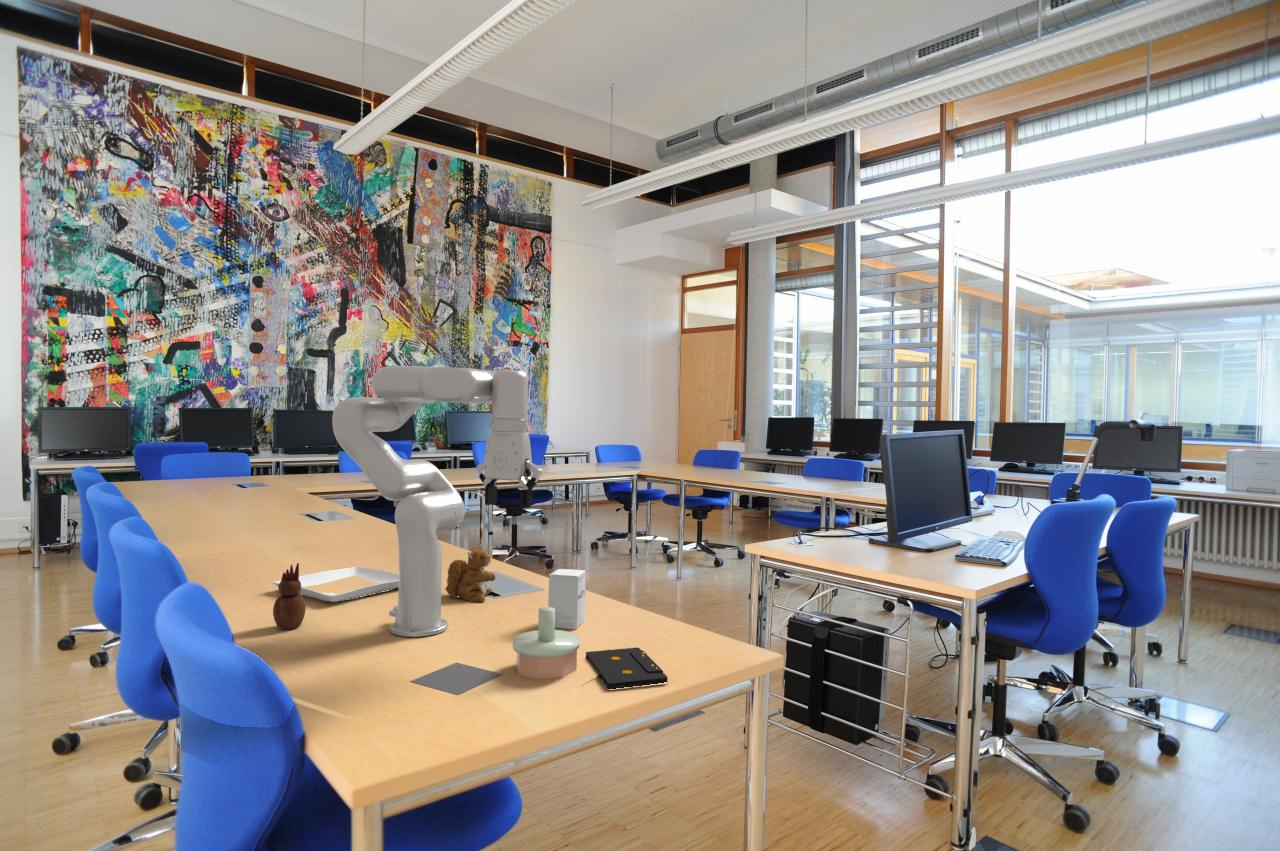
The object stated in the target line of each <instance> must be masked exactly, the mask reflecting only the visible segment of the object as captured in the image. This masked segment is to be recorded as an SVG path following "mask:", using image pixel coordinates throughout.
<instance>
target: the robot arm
mask: <svg viewBox="0 0 1280 851" xmlns="http://www.w3.org/2000/svg"><path fill="white" fill-rule="evenodd" d="M371 380H372V381H371V387H372V389H373V391H374V393H375V394H376V395H377V396H378V397H369V396H355V397H348V398H346V399H343V400H342V401H340V402H338V404H337V405H336V406H335V408H333V413H332V419H331V420H332V430H333V434H334V437H335V439H336V441H337V443H338V445H339V446H340V447H341V448H342V450H343V451H344V452H345V453H346V454H347V455H348V456H349V457H350V458H351V459H352V461H353V462H354V463H356V465H357V466H358V468H360V470H361V471H362V473H363V474H364V475H365V476H366V478H367V479H368V480H369V482H370V483H371V484H372V485H373V486H374V487H375V489H376V490H377V492H379V494H380V495H381V496H382V497H383V498H385V499H386V500H388V501H393V502H395V501H396V502H397V501H399V502H398V504H397V506H396V507H395V511H394V521H395V527H396V532H397V533H396V534H397V538H398V539H397V540H398V574H399V588H398V592H397V593H398V594H397V595H398V597H397V598H398V600H397V602H398V603H397V605H394V607H393V608H392V609H390V610H389V612H388V615H389V616H390V617H394V619H395V620H394V623H392V624H391V625H390V632H391V634H393V635H396V636H399V637H405V638H406V637H407V638H417V637H418V638H420V637H426V636H427V637H428V636H434V635H438V634H441V633H442V632H444V631H446V630H447V629H448V628H449V627H448V626H449V625H448V623H449V622H448V621H447V620H446V619H443V618H442V575H443V574H442V570H443V569H442V565H443V564H442V562H443V561H442V560H443V556H442V555H443V554H442V553H443V552H442V546H441V544H440V541H439V539H438V536H437V534H436V533H437V532H441V531H446V530H450V529H453V528H455V527H457V526H459V525H460V524H461V523H462V521H463V520H464V518H465V516H466V507H465V506H466V505H465V502H464V500H463V498H462V497H461V495H460V493H459V492H458V491H457V490H456V489H455V488H454V486H453V484H451V482H450V481H449V480H448V479H447V478H446V476H445V475H444V474H443V473H442V472H441V471H440V470H439V469H438V467H437V466H436V465H434V464H433V463H431V462H429V461H428V460H425V459H417V458H416V459H404V458H402V457H400V456H399V455H398V454H397V453H396V452H395V450H394V449H393V448H392V446H391V445H390V444H389V443H388V442H387V441H386V440H384V439H382V438H381V437H379V436H378V435H376V434H375V433H378V432H379V433H380V432H382V433H383V432H385V433H388V432H393V431H396V430H398V429H399V428H401V427H402V426H403V425H404V424H405V423H407V421H409V419H410V418H411V417H412V416H413V415H414V414H415V412H416V411H417V410H418V409H419V408H421V406H422V405H423V404H434V403H436V402H437V403H438V402H439V403H440V402H442V403H455V404H478V405H491V421H489V424H488V425H489V428H491V432H490V433H488V435H487V439H486V443H485V444H486V445H485V451H484V461H483V462H481V463H479V464H478V465H477V466H476V471H477V473H478V478H479V479H480V480H481V482H482V486H483V487H485V488H484V505H485V506H492V505H496V504H497V503H498V486H497V485H496V483H497V482H498V481H499V480H501V481H510V482H511V481H512V482H513V481H518V483H519V485H520V486H521V489H520V491H519V508H520V509H530V508H531V507H532V502H533V490H534V489H535V488H536V485H537V484H538V483H539V482H540V478H541V475H542V474H543V469H542V468H540V467H539V466H538V465H536V464H535V463H533V462H532V460H533V458H532V447H531V439H530V435H529V434H528V432H527V431H528V429H527V428H528V387H529V385H528V380H529V379H528V375H527V373H526V372H525V371H521V370H515V369H510V370H509V369H502V370H497V371H494V370H488V369H487V370H484V369H479V368H467V367H442V366H441V367H438V366H437V367H436V366H433V365H432V366H430V365H427V366H425V365H387V366H383V367H381V368H379V369H378V370H377V371H376V372H375V373H374V374H373V377H372V379H371Z"/></svg>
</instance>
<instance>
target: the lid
mask: <svg viewBox="0 0 1280 851" xmlns="http://www.w3.org/2000/svg"><path fill="white" fill-rule="evenodd" d="M537 628H538V630H530V631H526V632H523V633H519V634H518V635H515V636H514V637H513V639H512V650H513V651H514V652H516V653H517V652H518V653H520V654H523V655H527V656H534V657H553V656H561V655H565V654H569V653H572V652H574V651H576V650H577V651H578V650H579V648H580V646H581V644H580V641H581V640H580V637H579V636H578V635H577V634H576V633H573V632H571V631H566V630H560V629H559V630H558V629H556V628H555V608H553V607H548V606H543V607H540V608H538V624H537Z"/></svg>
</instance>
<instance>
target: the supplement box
mask: <svg viewBox="0 0 1280 851" xmlns="http://www.w3.org/2000/svg"><path fill="white" fill-rule="evenodd" d="M586 572H587V571H586V570H585V569H584V570H583V569H570V568H569V569H567V568H557V569H556V570H554V571H553V572H552V573H550V574H548V600H547V601H548V603H547V604H548V606H547V607H553V608H555V629H557V628H558V629H568V630H577V629H578V627H579V626H580V625H582V623H584V622H585V620H586V619H585V615H586V576H587V575H586V574H587V573H586Z"/></svg>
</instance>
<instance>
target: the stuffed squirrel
mask: <svg viewBox="0 0 1280 851" xmlns="http://www.w3.org/2000/svg"><path fill="white" fill-rule="evenodd" d="M467 556H468V557H467V558H468V559H467V560H462V559H454V560H453V561H451V563H450V564H449V567H448V569H447V579H446V580H447V581H446V587H445V589H444V590H445V591H446V593H447V594H448V596H450V597H451V596H452V597H451V598H453V597H457V596H459V597H461V599H462V600H465V599H466V600H465V601H467V600H471V601H480V602H479V603H484V602H485V601H486V596H484V595H487V594H489V593H490V592H491V591H492V590H493V589H492V588H490V587H489V588H488V586H487V584H486V583H488V582H494V581H495V580H496V578H497V577H496V574H495V573H494V572H492V571H487V570H486V569H485V568H486V567H487V568H488V567H489V565H490V564H491V562H492V561H491V559H492V558H491V556H490V554H489V553H488V552H487V551H484V550H483V549H480V548H479V549H478V548H477V549H473V550H471V551H468V552H467ZM487 596H488V595H487ZM471 601H470V602H471ZM483 601H484V602H483Z"/></svg>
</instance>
